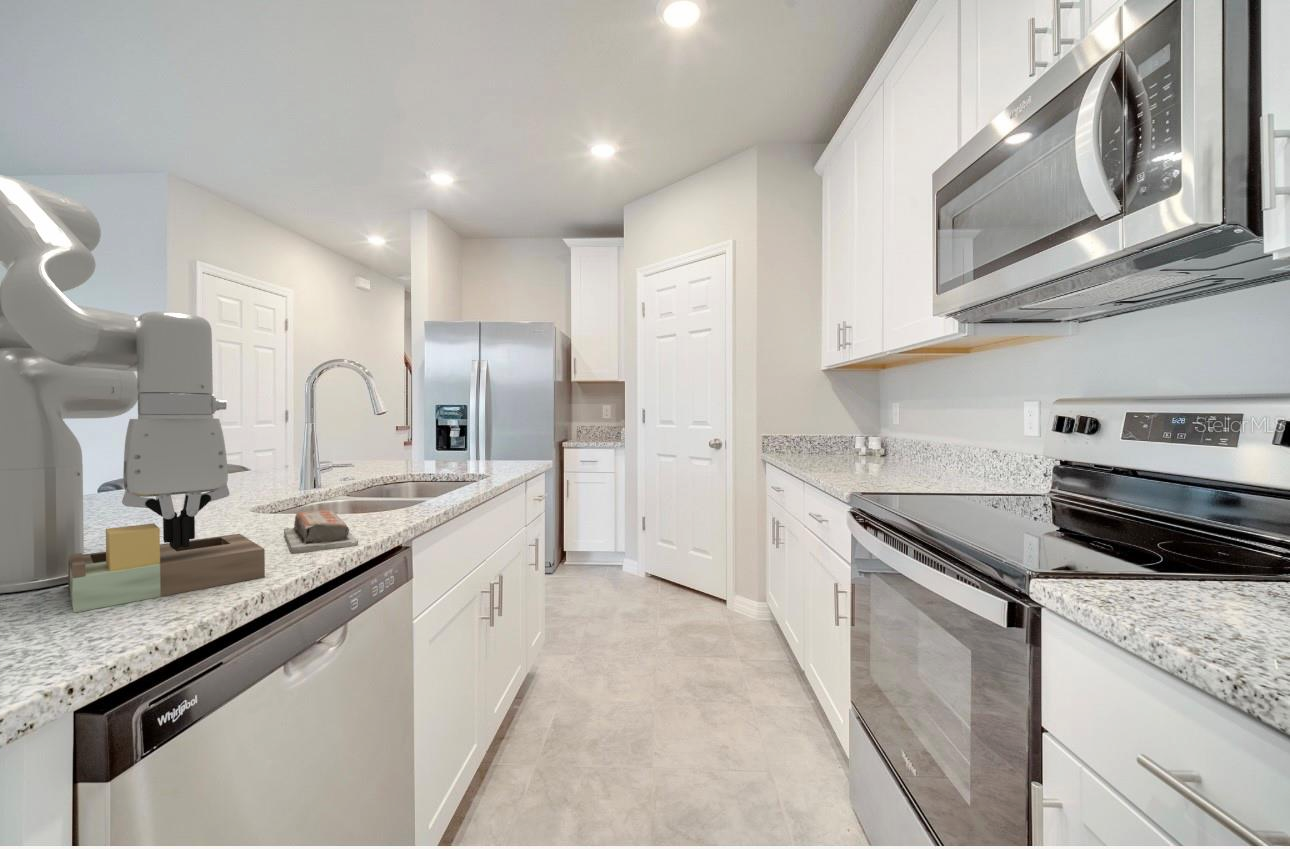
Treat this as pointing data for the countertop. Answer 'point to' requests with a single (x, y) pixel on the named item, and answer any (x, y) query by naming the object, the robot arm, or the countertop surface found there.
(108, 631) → the countertop surface
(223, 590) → the countertop surface
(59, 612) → the countertop surface
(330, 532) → the packaged product
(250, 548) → the box
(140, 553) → the ochre block
